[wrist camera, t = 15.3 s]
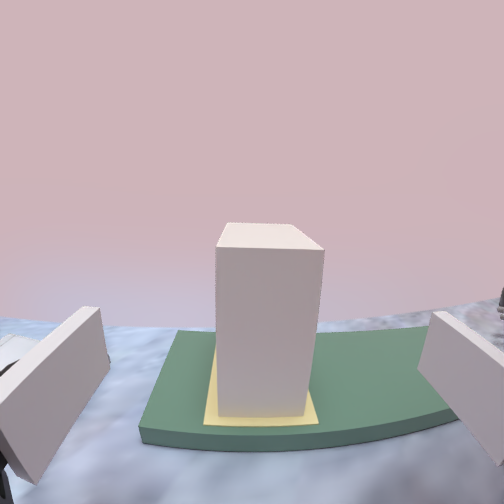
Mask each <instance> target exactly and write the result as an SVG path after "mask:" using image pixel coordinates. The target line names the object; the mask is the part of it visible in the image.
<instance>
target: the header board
mask: <svg viewBox="0 0 504 504" xmlns="http://www.w3.org/2000/svg"><path fill="white" fill-rule="evenodd" d="M428 327H429V326H423V327H412V328H401V329H388V330H373V331H356V332H332V333H316V338H315V346H314V353H313V360H312V367H311V374H310V380H309V387H308V393H307V399H306V405H305V411H304V416H298V417H269V418H243V417H218V396H217V362H216V332H200V331H182V330H178V332H177V334H176V337H175V339H174V341H173V344H172V346H171V348H170V351H169V353H168V355H167V358H166V360H165V362H164V365H163V367H162V369H161V372H160V374H159V377H158V379H157V381H156V384H155V386H154V389H153V391H152V393H151V396H150V398H149V401H148V403H147V406H146V408H145V411H144V413H143V416H142V418H141V421H140V423H139V426H138V427H139V431H140V435H141V438H142V442H143V443H147V444H154V445H161V446H169V447H177V448H187V449H198V450H212V451H236V452H269V451H293V450H307V449H318V448H328V447H336V446H344V445H351V444H358V443H364V442H370V441H375V440H380V439H385V438H390V437H395V436H399V435H404V434H408V433H412V432H416V431H420V430H424V429H427V428H431V427H434V426H438V425H441V424H444V423H448V422H451V421H454V420H457V419H459V418H458V416H457V415H456V414H455V413H454V412H453V410H452V409H451V408H450V407H449V406H448V404H447V403H446V402H445V401H444V400H443V399H442V397H441V396H440V395H439V394H438V393H437V391H436V390H435V389H434V388H433V387H432V386H431V384H430V383H429V382H428V381H427V380H426V379H425V378H424V376H423V375H422V374H421V373H420V372H419V371H418V369H417V367H418V364H419V361H420V357H421V354H422V350H423V347H424V343H425V339H426V335H427V332H428Z"/></svg>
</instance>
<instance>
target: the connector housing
mask: <svg viewBox="0 0 504 504" xmlns="http://www.w3.org/2000/svg"><path fill="white" fill-rule="evenodd" d="M324 251H325V250H324V249H323V248H322V247H320V246H319V245H318V244H317V243H315V242H314V241H313V240H311V239H310V238H309V237H307V236H306V235H305V234H303V233H302V232H301V231H300V230H298V229H297V228H296V227H294V226H293V225H291V224H262V223H227V224H226V226H225V228H224V230H223V233H222V235H221V237H220V239H219V241H218V243H217V246H216V362H217V396H218V417H243V418H269V417H298V416H304V411H305V405H306V399H307V393H308V387H309V380H310V374H311V367H312V360H313V353H314V346H315V338H316V330H317V322H318V313H319V305H320V294H321V286H322V275H323V264H324Z"/></svg>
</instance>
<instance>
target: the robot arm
mask: <svg viewBox="0 0 504 504" xmlns="http://www.w3.org/2000/svg"><path fill="white" fill-rule="evenodd" d="M500 306H501V307H504V288H503V290H502V294H501V298H500ZM417 369H418V371H419V372H420V373H421V374H422V375H423V376H424V378H425V379H426V380H427V381H428V382H429V383H430V384H431V386H432V387H433V388H434V389H435V390H436V391H437V393H438V394H439V395H440V396H441V397H442V399H443V400H444V401H445V402H446V403H447V404H448V406H449V407H450V408H451V409H452V410H453V412H454V413H455V414H456V415H457V416H458V418H459V419H460V420H461V421H462V423H463V424H464V425H465V426H466V427H467V429H468V430H469V431H470V432H471V434H472V435H473V436H474V437H475V439H476V440H477V441H478V442H479V444H480V445H481V446H482V447H483V449H484V450H485V451H486V452H487V454H488V455H489V456H490V458H491V459H492V460H493V461H494V463H495V464H496V465H497V467H499V466H501V465H503V464H504V353H503V352H502V351H501V350H499V349H498V348H497V347H495V346H494V345H493V344H491V343H490V342H489V341H487V340H486V339H484V338H483V337H482V336H480V335H479V334H478V333H476V332H475V331H473V330H472V329H471V328H469V327H468V326H466V325H465V324H463V323H462V322H461V321H459V320H458V319H456V318H455V317H453V316H452V315H450V314H449V313H448V312H446V311H440V312H432V315H431V319H430V323H429V327H428V332H427V335H426V339H425V343H424V347H423V350H422V354H421V357H420V361H419V364H418V367H417ZM109 370H110V364H109V359H108V354H107V349H106V344H105V338H104V332H103V326H102V320H101V313H100V308H97V307H87V306H83V307H81V308H80V309H79V310H78V311H77V312H75V313H74V314H73V315H72V316H70V317H69V318H68V319H67V320H65V321H64V322H63V323H62V324H61V325H59V326H58V327H57V328H56V329H55V330H53V331H52V332H51V333H50V334H49V335H47V336H46V337H45V338H44V339H43V340H42V341H40V342H39V343H38V344H37V345H36V346H35V347H33V348H32V349H31V350H30V351H29V352H28V353H27V354H25V355H24V356H23V357H22V358H21V359H19V360H17V361H15V362H13V363H11V364H9V365H7V366H6V367H5V368H4V369H3V370H1V371H0V504H14V503H13V499H12V494H11V490H10V485H9V481H8V477H7V474H6V472H5V471H4V468H5V466H6V465H7V463H8V464H9V466H10V467H11V469H12V470H13V471H14V473H15V474H16V476H18V477H20V478H22V479H24V480H26V481H28V482H30V483H32V484H34V485H36V486H37V484H38V482H39V480H40V479H41V477H42V475H43V474H44V472H45V470H46V469H47V467H48V465H49V464H50V462H51V460H52V459H53V457H54V455H55V454H56V452H57V450H58V449H59V447H60V445H61V444H62V442H63V441H64V439H65V437H66V436H67V434H68V433H69V431H70V429H71V428H72V426H73V425H74V423H75V422H76V420H77V418H78V417H79V415H80V414H81V412H82V411H83V409H84V408H85V406H86V405H87V403H88V401H89V400H90V398H91V397H92V395H93V394H94V392H95V391H96V389H97V388H98V386H99V385H100V383H101V382H102V380H103V379H104V377H105V376H106V374H107V373H108V372H109Z"/></svg>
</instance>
